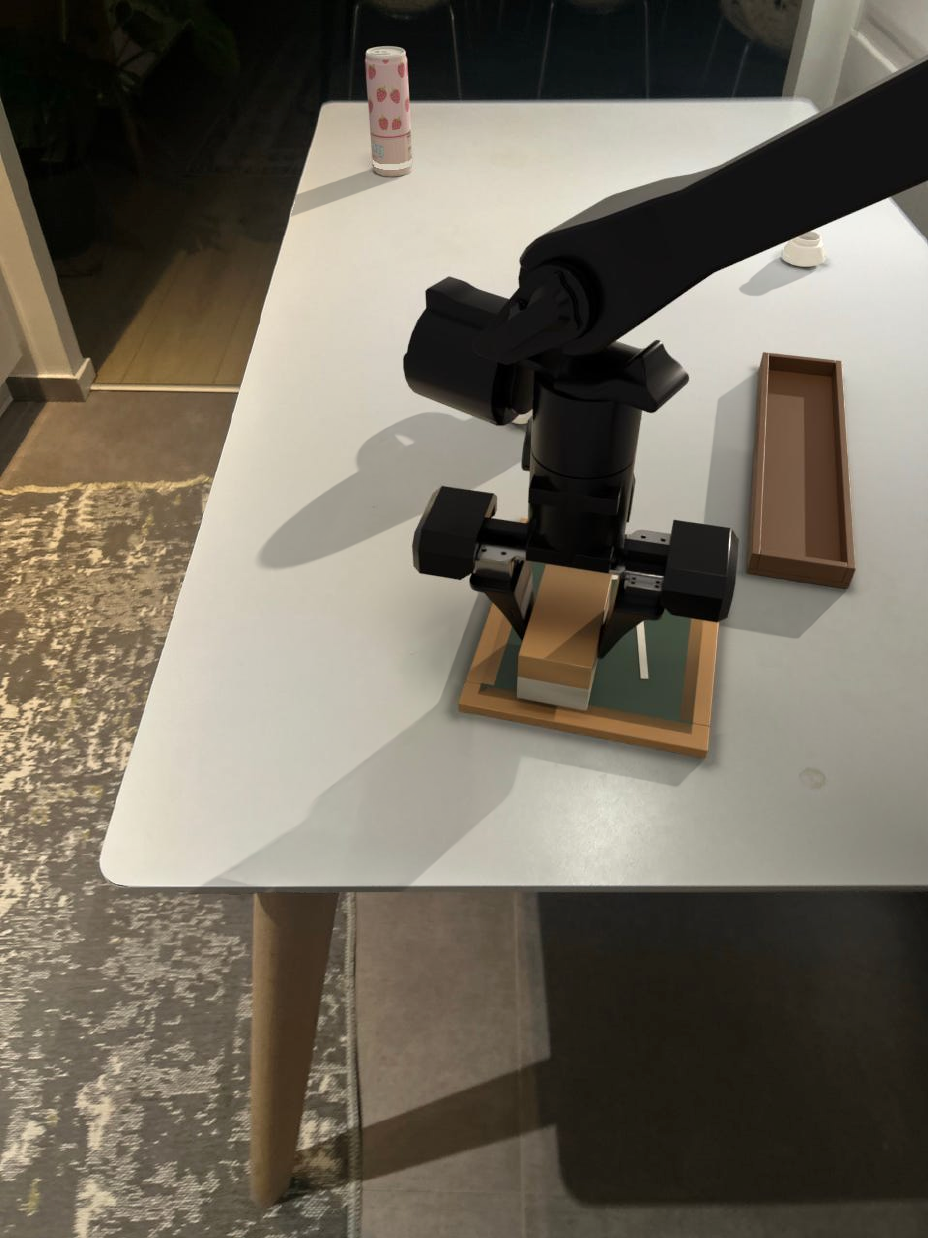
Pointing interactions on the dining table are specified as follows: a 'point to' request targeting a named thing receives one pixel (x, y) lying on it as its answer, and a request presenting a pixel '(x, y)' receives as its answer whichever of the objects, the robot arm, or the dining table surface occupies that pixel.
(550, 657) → the eraser
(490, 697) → the chalkboard
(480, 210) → the dining table surface
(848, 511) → the chalk tray
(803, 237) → the lidless jar
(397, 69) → the beverage can
